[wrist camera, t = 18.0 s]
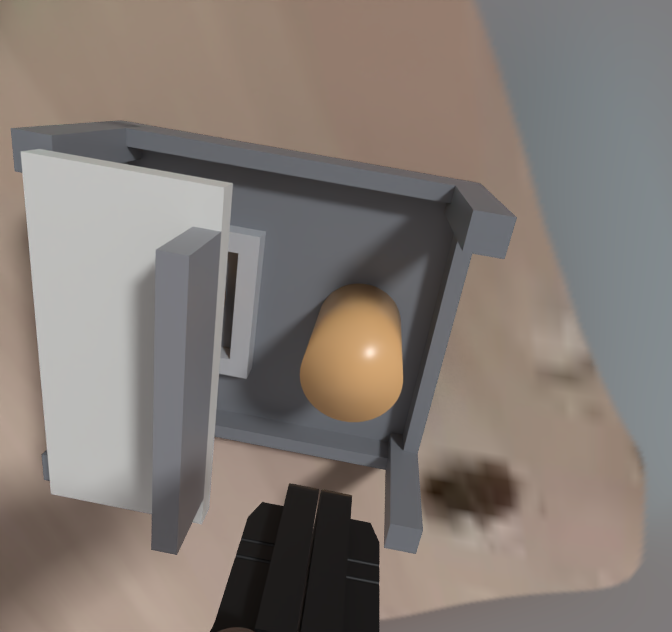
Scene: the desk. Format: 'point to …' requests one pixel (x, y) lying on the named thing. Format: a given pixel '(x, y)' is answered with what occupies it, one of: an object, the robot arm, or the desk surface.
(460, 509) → the desk surface
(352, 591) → the robot arm
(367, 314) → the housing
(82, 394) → the lid
